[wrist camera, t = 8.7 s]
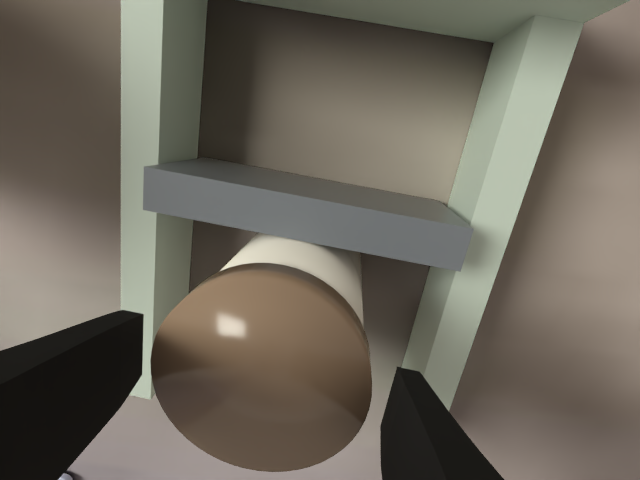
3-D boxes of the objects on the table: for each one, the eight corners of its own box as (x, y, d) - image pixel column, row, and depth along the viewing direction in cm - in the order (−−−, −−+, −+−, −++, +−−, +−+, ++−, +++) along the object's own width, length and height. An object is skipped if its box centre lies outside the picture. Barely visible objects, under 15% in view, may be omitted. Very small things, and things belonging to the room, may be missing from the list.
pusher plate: (430, 232, 17) (460, 271, 12) (203, 188, 17) (142, 209, 12) (439, 200, 16) (473, 228, 11) (205, 157, 17) (143, 166, 12)
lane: (418, 405, 20) (450, 545, 13) (159, 350, 20) (62, 455, 14) (544, 6, 14) (719, -113, 7) (175, -52, 15) (21, -211, 8)
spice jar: (350, 323, 19) (346, 491, 10) (243, 301, 19) (146, 446, 10) (375, 218, 17) (396, 308, 8) (257, 195, 17) (154, 258, 8)
